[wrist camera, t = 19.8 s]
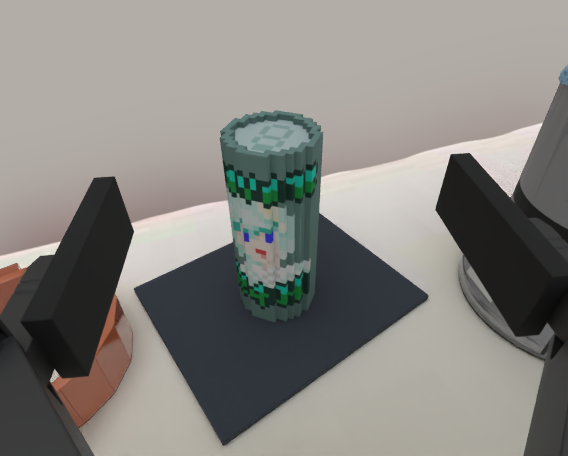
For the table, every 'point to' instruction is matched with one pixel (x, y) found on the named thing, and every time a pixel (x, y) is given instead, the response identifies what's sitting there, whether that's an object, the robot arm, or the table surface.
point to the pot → (107, 363)
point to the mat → (271, 327)
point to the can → (274, 209)
